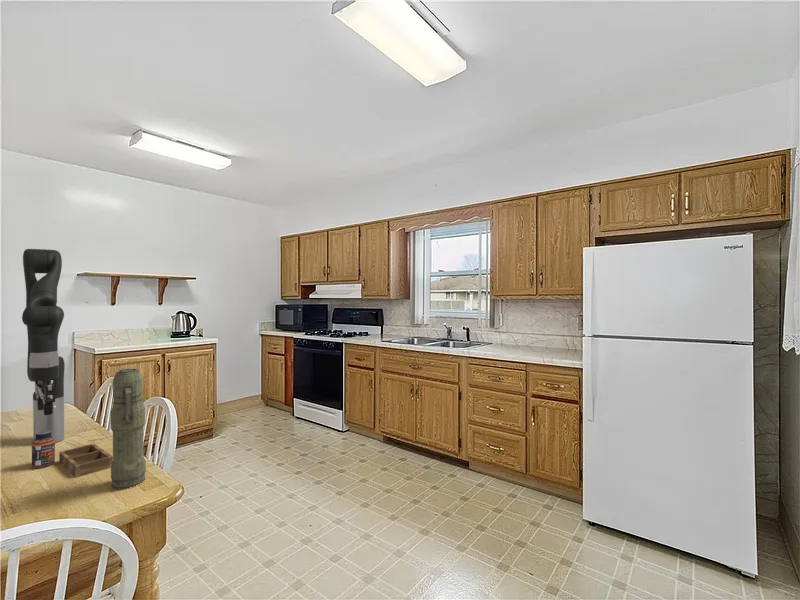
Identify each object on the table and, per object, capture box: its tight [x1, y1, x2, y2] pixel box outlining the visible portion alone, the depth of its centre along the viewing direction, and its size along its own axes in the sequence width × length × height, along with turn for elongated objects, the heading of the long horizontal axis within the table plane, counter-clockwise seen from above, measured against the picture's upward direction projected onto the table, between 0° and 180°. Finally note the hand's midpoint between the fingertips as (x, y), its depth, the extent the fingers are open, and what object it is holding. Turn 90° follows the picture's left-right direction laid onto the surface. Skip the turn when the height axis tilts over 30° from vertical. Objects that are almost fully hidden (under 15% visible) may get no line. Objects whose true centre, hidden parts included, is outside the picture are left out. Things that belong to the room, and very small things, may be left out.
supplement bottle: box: [31, 430, 56, 469], centre depth 138 cm, size 6×6×11 cm
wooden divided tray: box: [58, 443, 113, 478], centre depth 139 cm, size 19×10×4 cm, turn 52°
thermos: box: [110, 368, 147, 490], centre depth 125 cm, size 9×12×35 cm
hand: (45, 412), depth 138 cm, fingers open, 8 cm apart
